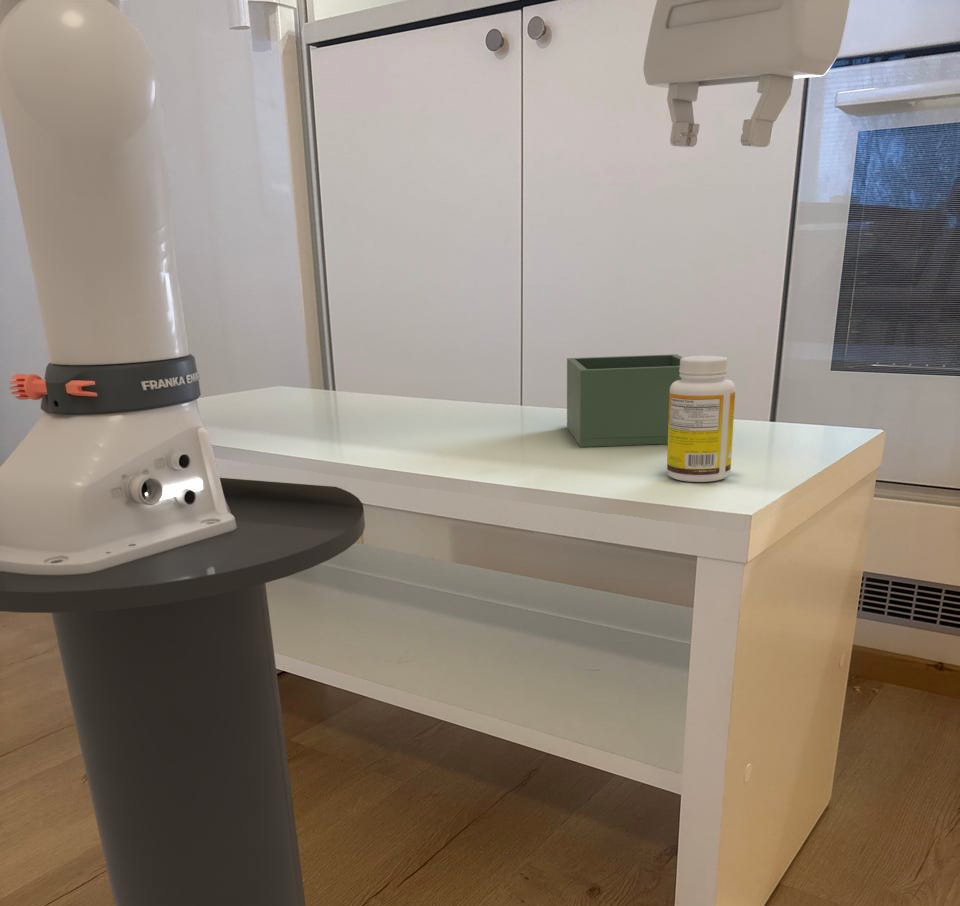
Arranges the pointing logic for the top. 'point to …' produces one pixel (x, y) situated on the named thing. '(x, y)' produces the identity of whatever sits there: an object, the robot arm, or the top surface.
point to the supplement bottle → (701, 420)
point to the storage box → (620, 399)
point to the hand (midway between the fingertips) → (716, 146)
